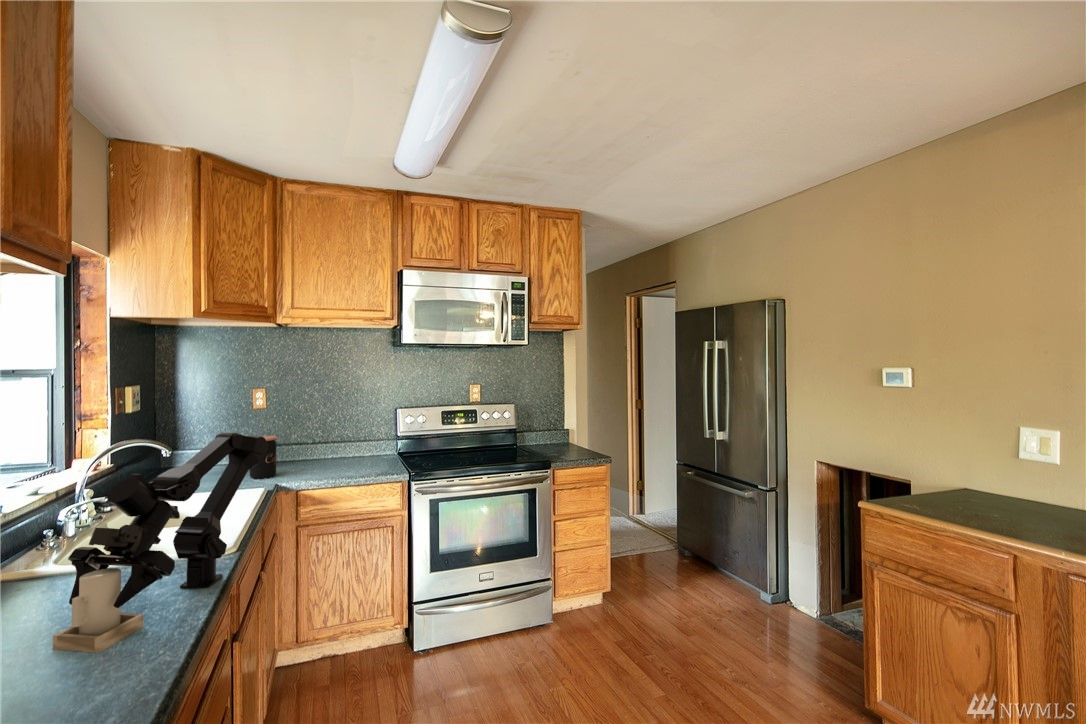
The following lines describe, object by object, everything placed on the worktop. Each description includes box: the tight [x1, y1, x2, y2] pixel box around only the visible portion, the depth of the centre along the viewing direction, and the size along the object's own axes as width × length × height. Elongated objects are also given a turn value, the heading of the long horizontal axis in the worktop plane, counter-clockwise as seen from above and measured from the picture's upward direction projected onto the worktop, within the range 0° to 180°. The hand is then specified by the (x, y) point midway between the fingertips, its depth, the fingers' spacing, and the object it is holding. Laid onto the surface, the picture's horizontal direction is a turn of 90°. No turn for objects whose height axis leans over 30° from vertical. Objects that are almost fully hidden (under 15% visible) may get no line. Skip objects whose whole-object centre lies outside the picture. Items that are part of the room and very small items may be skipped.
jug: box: [71, 567, 122, 636], centre depth 97 cm, size 8×6×12 cm
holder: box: [52, 612, 144, 654], centre depth 98 cm, size 9×9×2 cm
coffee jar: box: [249, 435, 277, 480], centre depth 236 cm, size 11×11×18 cm
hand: (93, 605), depth 97 cm, fingers open, 9 cm apart
